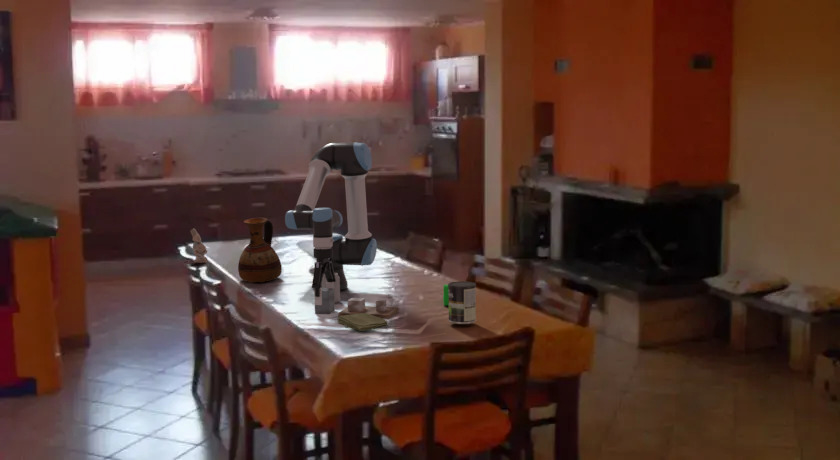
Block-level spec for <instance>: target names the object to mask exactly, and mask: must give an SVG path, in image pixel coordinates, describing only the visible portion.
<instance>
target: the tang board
mask: <svg viewBox="0 0 840 460" xmlns="http://www.w3.org/2000/svg"><path fill="white" fill-rule="evenodd" d="M399 309H400V307H399V306H396V307H395V306H387V299H379V298H378V299H377V300H375V306H372V305H370V306H368V305H366V298H364V297H351V298H349V299H347V307H345V308H344V309H342V310H340V311H339V312H338V317H339V316H343V315H354V314H361V313H367V314H371V315H373V316H376V317H380V318H383V319H384V320H386V319H388V320H389V319H390V318H392V317H393V316H394V315H395V314H397V313H398V312H399Z"/></svg>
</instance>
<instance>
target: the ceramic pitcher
mask: <svg viewBox="0 0 840 460" xmlns="http://www.w3.org/2000/svg"><path fill="white" fill-rule="evenodd" d="M243 223H244V224H245V225H246V226H247V227H248V229H249V234H250V239H249V244H247V246H245V247H244V249H243V250H242V252H241V254H240V257H239V260H238V265H237V266H238V267H237V271H238V272H237V273H238V276H239V277H240V279H241V280H243V281H245V282H247V281H248V283H252V282H260V283H266V282H270V281H273V280H275V279H277V278H279V277H280V276H281V275H282V268H283V267H282V263H281V260H280V258H279V255H278V253H277V252H276V251H275V249H274V248H273V247H272V242H273V236H274V235H273V233H274V226H273V223H272V222H271V220H270V219H268V218H267V217H262V216H261V217H253V218H249V219H245V220H243ZM265 281H266V282H265Z"/></svg>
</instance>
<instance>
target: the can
mask: <svg viewBox="0 0 840 460" xmlns="http://www.w3.org/2000/svg"><path fill="white" fill-rule="evenodd" d="M334 274H335V279H336V281H335V282H333V288H334V304H337V303H339V302H340V301H341V290H340V277H339V276H338V273H334ZM326 282H327V279H326V276H325V274H324V275H323V280H322V288H326Z"/></svg>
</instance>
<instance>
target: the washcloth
mask: <svg viewBox="0 0 840 460" xmlns="http://www.w3.org/2000/svg"><path fill="white" fill-rule="evenodd" d="M337 323H338V324H340V325H343V326H344V327H346V328H350V329H352V330H356V331H368V330H374V329H377V328H378V327H379V328H380V327H385V326H388V321H387V320H386V319H384V318H380V317H376V316H373V315H371V314H367V313H361V314H354V315H343V316H339V315H338V318H337Z"/></svg>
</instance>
